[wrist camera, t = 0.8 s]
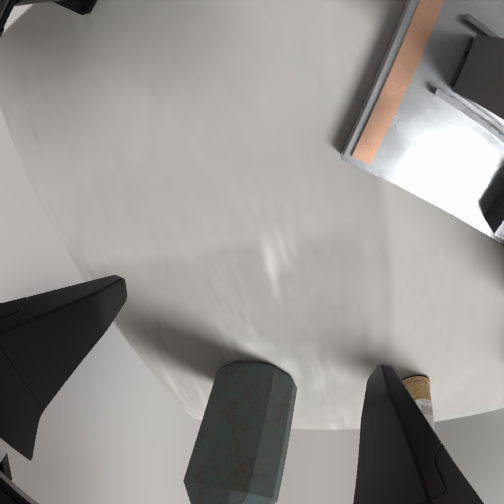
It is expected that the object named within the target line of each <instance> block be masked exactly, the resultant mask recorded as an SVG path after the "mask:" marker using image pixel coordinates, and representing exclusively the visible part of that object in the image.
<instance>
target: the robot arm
mask: <svg viewBox="0 0 504 504" xmlns="http://www.w3.org/2000/svg"><path fill="white" fill-rule="evenodd" d="M96 1H97V0H0V37H1V35H2V33H3V31H4V25H5V23H6V21H7V19H8V17H9V15H10V13H11V11H12V9H13V7H14V6H20V5H26V4H34V3H43V2H55V3H57V4H59V5H61V6H64V7H66V8H68V9H70V10H72V11H74V12H76V13H79V14H81V15H86V14H89V13H90V12H91V11H92V9H93V7H94V5H95V3H96ZM85 6H86V10H84V8H85ZM126 299H127V290H126V282H125V279H124V278H122V277H120V276H117V275H112V276H108V277H104V278H100V279H96V280H92V281H88V282H84V283H80V284H76V285H73V286H68V287H65V288H61V289H57V290H53V291H49V292H45V293H41V294H37V295H33V296H29V297H27V298H26V297H24V298H21V299H17V300H13V301H8V302H4V303H0V504H38V503H37V502H36V501H34V500H33V499H32V498H31V497H29V496H28V495H27V494H26V493H25V492H23V491H22V490H21V489H20V488H19V487H17V486H16V485H15V484H14V483H13V482H12V481H11V480H12V477H11V471H10V467H9V462H8V456H7V451H8V450H9V448H10V447H12V448H14V449H15V450H16V451H18V452H19V453H20V454H22V455H23V456H24V457H26V458H27V459H29V460H31V459H32V457H33V451H34V444H35V439H36V434H37V428H38V423H39V419H40V417H41V415H42V413H43V411H44V410H45V408H46V407H47V405H48V404H49V403H50V402H51V400H52V399H53V398H54V396H55V395H56V394H57V392H58V391H59V390H60V389H61V387H62V386H63V384H64V383H65V382H66V381H67V379H68V378H69V377H70V376H71V374H72V373H73V372H74V370H75V369H76V368H77V367H78V365H79V364H80V363H81V362H82V360H83V359H84V358H85V357H86V355H87V354H88V353H89V352H90V350H91V349H92V348H93V347H94V345H95V344H96V343H97V342H98V341H99V339H100V338H101V337H102V336H103V334H104V333H105V332H106V331H107V329H108V328H109V326H110V325H111V323H112V322H113V320H114V319H115V317H116V316H117V314H118V313H119V311H120V309H121V308H122V306H123V305H124V303H125V302H126ZM440 443H441V441H440V440H439V438H438V436H437V435H436V433H435V432H434V430H433V429H432V427H431V425H430V424H429V422H428V421H427V419H426V418H425V416H424V414H423V413H422V411H421V410H420V408H419V407H418V405H417V404H416V402H415V401H414V399H413V398H412V396H411V395H410V393H409V392H408V390H407V388H406V387H405V385H404V384H403V382H402V381H401V380H400V378H399V377H398V375H397V374H396V372H395V371H394V369H393V368H392V367H391V366H390V365H386V364H379V365H378V366H377V368H376V369H375V370H374V371H373V373H372V374H371V375H370V377H369V378H368V381H367V386H366V392H365V399H364V405H363V410H362V417H361V428H360V445H359V457H358V468H357V479H356V488H355V495H354V503H353V504H484V503H483V502H482V500H481V499H480V498H479V496H478V495H477V493H476V492H475V491H474V489H473V488H472V486H471V485H470V484H469V482H468V481H467V479H466V478H465V477H464V476H463V474H462V473H461V471H460V470H459V468H458V467H457V466H456V464H455V463H454V461H453V460H452V458H451V457H450V455H449V453H448V452H447V450H446V449H445V447H444V445H443V444H440Z"/></svg>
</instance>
